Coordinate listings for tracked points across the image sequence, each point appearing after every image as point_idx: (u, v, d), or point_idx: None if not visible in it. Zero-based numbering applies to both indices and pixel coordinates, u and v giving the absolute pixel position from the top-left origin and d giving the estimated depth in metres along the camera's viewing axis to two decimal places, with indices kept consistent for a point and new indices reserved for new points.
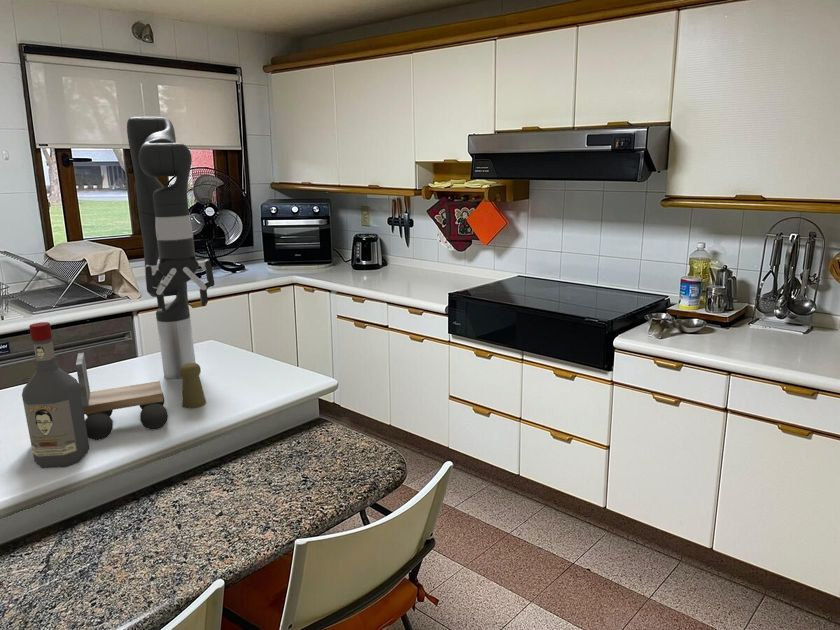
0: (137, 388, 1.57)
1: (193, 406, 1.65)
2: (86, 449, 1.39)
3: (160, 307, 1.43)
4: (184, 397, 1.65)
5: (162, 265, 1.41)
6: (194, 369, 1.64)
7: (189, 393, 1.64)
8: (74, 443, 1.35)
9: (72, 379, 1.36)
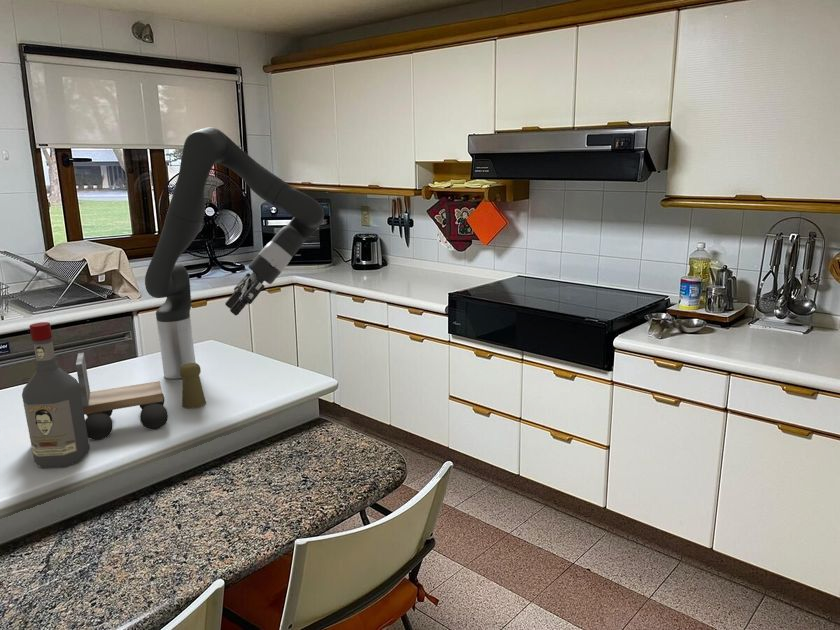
0: (137, 388, 1.57)
1: (193, 406, 1.65)
2: (86, 449, 1.39)
3: None
4: (184, 397, 1.65)
5: None
6: (194, 369, 1.64)
7: (189, 393, 1.64)
8: (74, 443, 1.35)
9: (73, 379, 1.36)
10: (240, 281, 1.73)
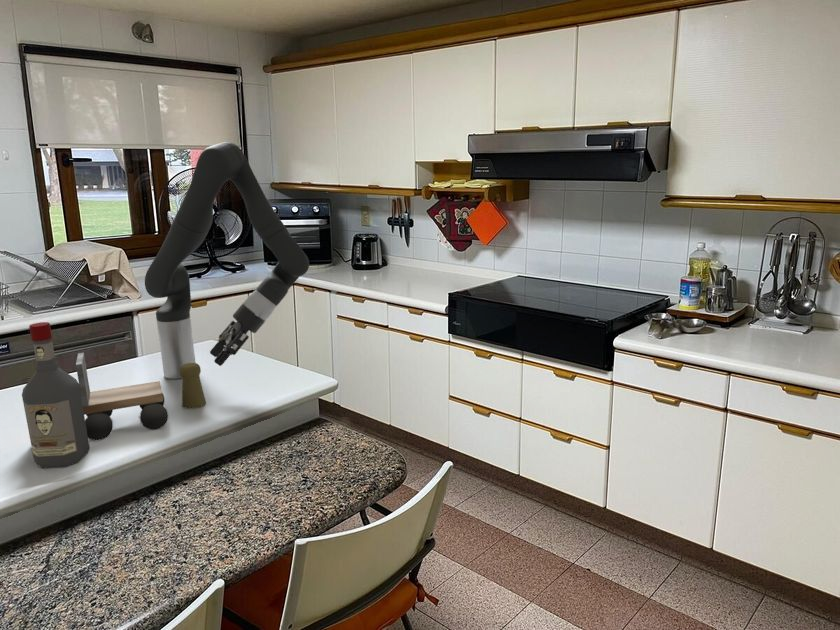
0: (137, 388, 1.57)
1: (193, 406, 1.65)
2: (86, 449, 1.39)
3: None
4: (184, 397, 1.65)
5: None
6: (194, 369, 1.64)
7: (189, 393, 1.64)
8: (74, 443, 1.35)
9: (72, 379, 1.36)
10: (225, 329, 1.74)
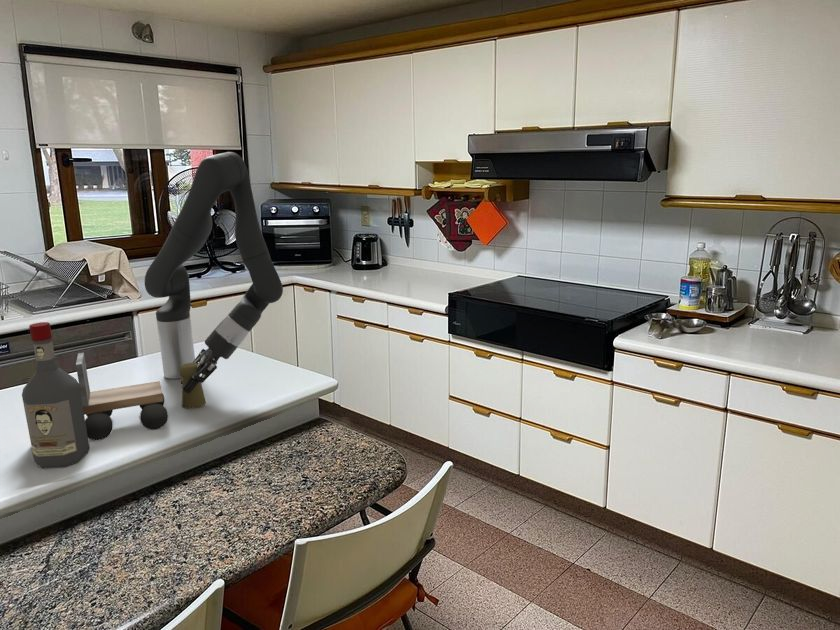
0: (137, 388, 1.57)
1: (193, 406, 1.65)
2: (86, 449, 1.39)
3: None
4: (184, 397, 1.65)
5: None
6: (194, 369, 1.64)
7: (189, 393, 1.64)
8: (74, 443, 1.35)
9: (72, 379, 1.36)
10: None
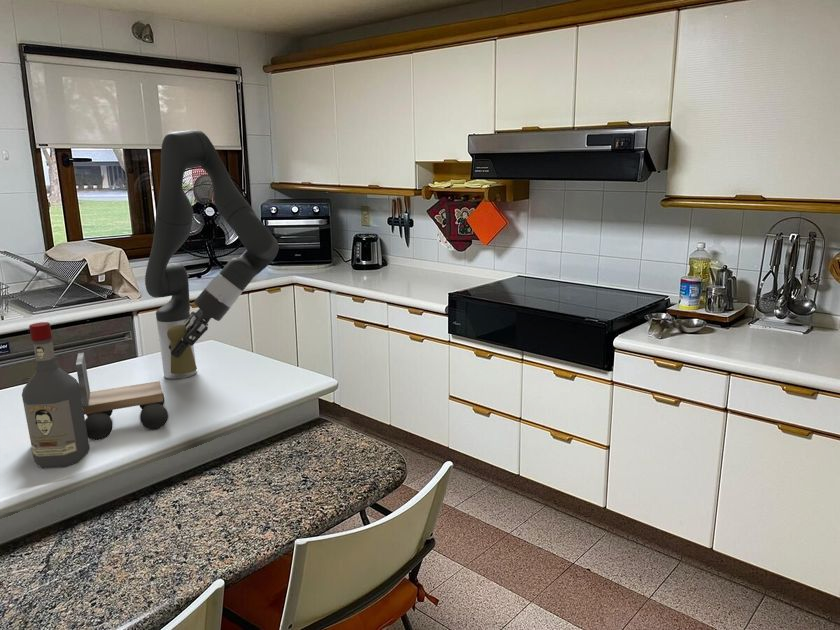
0: (137, 388, 1.57)
1: (183, 371, 1.52)
2: (86, 449, 1.39)
3: None
4: (173, 362, 1.52)
5: None
6: (183, 331, 1.51)
7: (178, 357, 1.52)
8: (74, 443, 1.35)
9: (72, 379, 1.36)
10: (184, 321, 1.59)
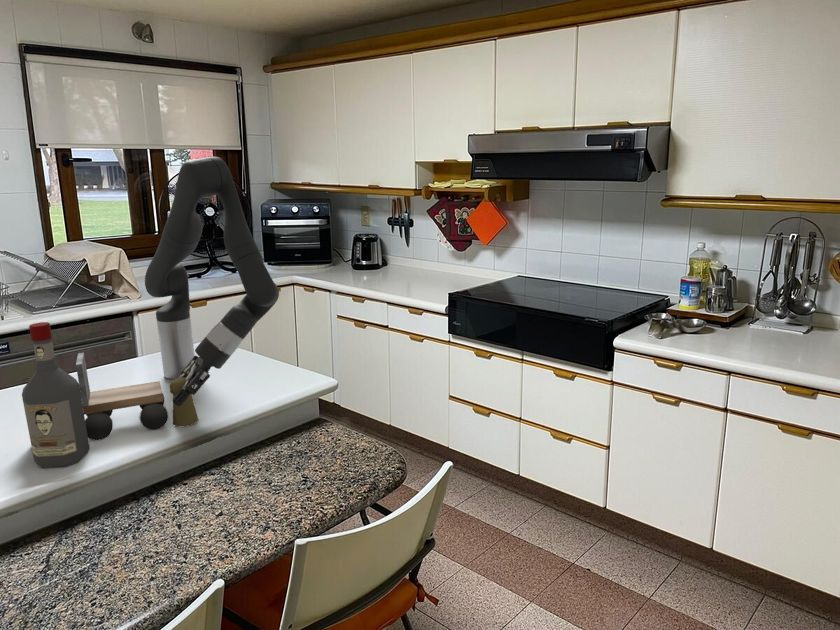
0: (137, 388, 1.57)
1: (184, 424, 1.54)
2: (86, 449, 1.39)
3: None
4: (175, 414, 1.54)
5: (208, 370, 1.52)
6: None
7: (180, 410, 1.53)
8: (74, 443, 1.35)
9: (72, 379, 1.36)
10: (187, 364, 1.60)
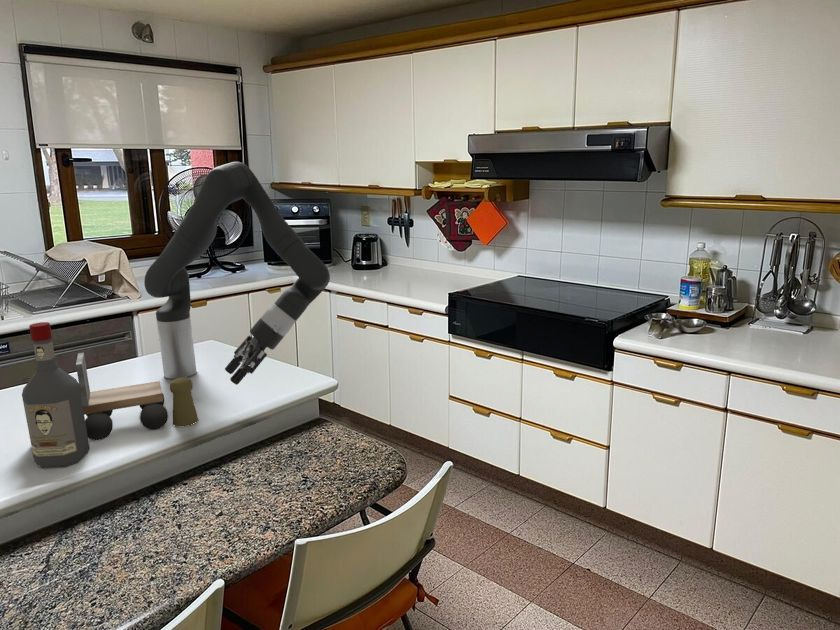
0: (137, 388, 1.57)
1: (184, 424, 1.54)
2: (86, 449, 1.39)
3: None
4: (175, 414, 1.54)
5: None
6: (185, 385, 1.52)
7: (180, 410, 1.53)
8: (74, 443, 1.35)
9: (72, 379, 1.36)
10: (241, 344, 1.65)
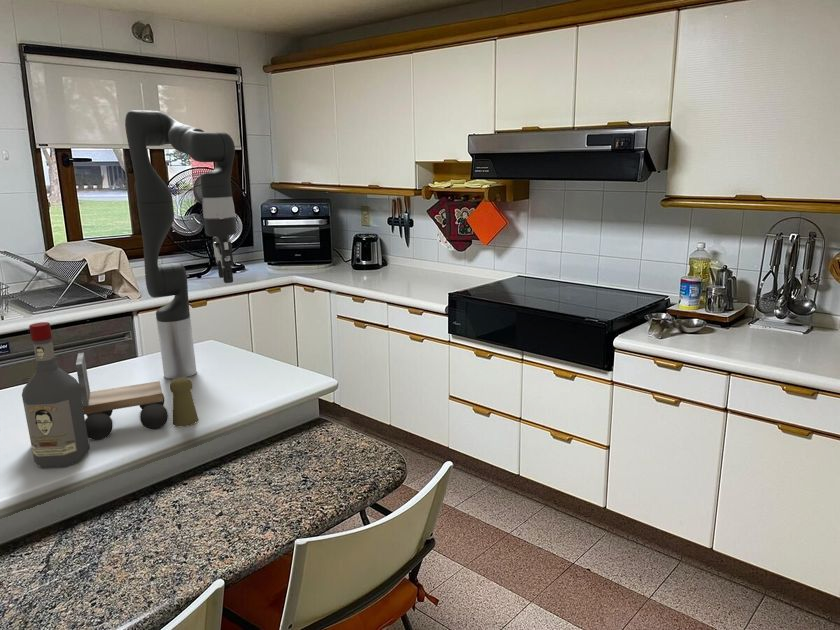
0: (137, 388, 1.57)
1: (184, 424, 1.54)
2: (86, 449, 1.39)
3: (231, 279, 1.59)
4: (175, 414, 1.54)
5: None
6: (185, 385, 1.52)
7: (180, 410, 1.53)
8: (74, 443, 1.35)
9: (72, 379, 1.36)
10: None
